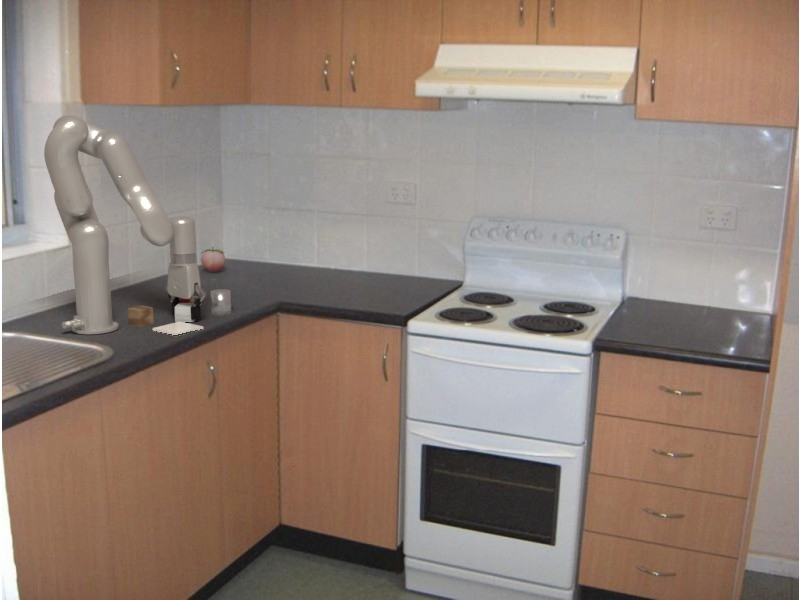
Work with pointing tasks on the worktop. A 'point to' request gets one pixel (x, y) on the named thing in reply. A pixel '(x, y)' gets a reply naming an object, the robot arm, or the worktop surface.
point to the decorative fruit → (213, 259)
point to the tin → (220, 302)
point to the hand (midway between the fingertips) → (186, 316)
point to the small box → (183, 312)
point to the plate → (177, 328)
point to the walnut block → (140, 316)
